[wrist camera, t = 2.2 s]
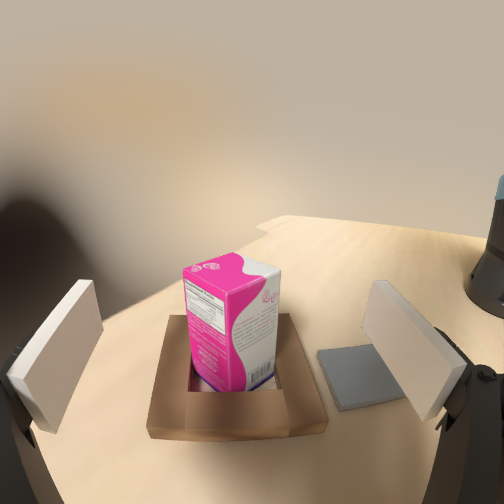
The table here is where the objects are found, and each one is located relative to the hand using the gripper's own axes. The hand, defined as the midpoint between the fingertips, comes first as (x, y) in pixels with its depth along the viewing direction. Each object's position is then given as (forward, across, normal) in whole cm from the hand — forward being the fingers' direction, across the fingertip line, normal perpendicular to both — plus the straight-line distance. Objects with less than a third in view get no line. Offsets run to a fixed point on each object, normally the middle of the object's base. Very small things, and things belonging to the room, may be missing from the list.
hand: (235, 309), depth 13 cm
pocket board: (+10, 0, -14) cm, 17 cm away
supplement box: (+10, 0, -14) cm, 17 cm away
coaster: (+8, +14, -14) cm, 21 cm away
